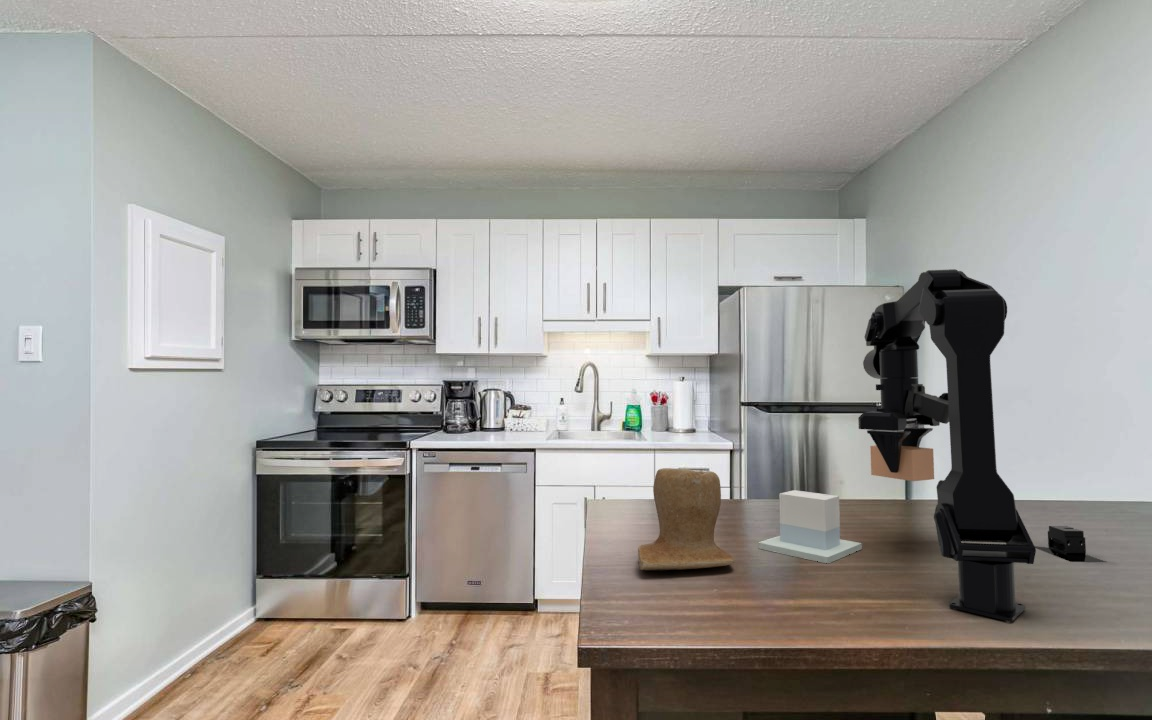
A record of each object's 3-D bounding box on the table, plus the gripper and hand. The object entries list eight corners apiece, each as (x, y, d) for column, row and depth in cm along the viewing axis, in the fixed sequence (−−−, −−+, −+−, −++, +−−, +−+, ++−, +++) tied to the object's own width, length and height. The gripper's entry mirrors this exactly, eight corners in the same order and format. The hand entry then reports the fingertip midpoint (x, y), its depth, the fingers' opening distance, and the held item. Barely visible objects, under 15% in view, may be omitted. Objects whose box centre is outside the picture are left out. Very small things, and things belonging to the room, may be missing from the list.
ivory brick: (825, 531, 97) (824, 500, 97) (779, 523, 103) (779, 493, 103) (839, 526, 101) (839, 496, 101) (794, 518, 106) (794, 490, 107)
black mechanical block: (1121, 568, 92) (1120, 537, 92) (1070, 568, 92) (1069, 537, 92) (1062, 547, 104) (1060, 519, 104) (1017, 546, 104) (1016, 519, 105)
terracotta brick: (913, 481, 98) (912, 450, 98) (871, 474, 105) (870, 445, 105) (934, 479, 100) (933, 448, 100) (891, 473, 107) (890, 444, 107)
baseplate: (827, 563, 93) (827, 537, 93) (758, 548, 102) (757, 524, 102) (861, 549, 101) (861, 525, 101) (794, 536, 110) (794, 514, 110)
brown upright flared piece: (713, 552, 100) (711, 461, 101) (743, 574, 88) (741, 471, 89) (623, 557, 98) (622, 463, 99) (642, 580, 86) (640, 474, 87)
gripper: (929, 377, 91) (933, 482, 90) (971, 377, 103) (974, 470, 102) (855, 378, 99) (858, 474, 99) (902, 378, 112) (904, 464, 111)
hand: (901, 470), depth 102 cm, fingers closed on terracotta brick, 6 cm apart
